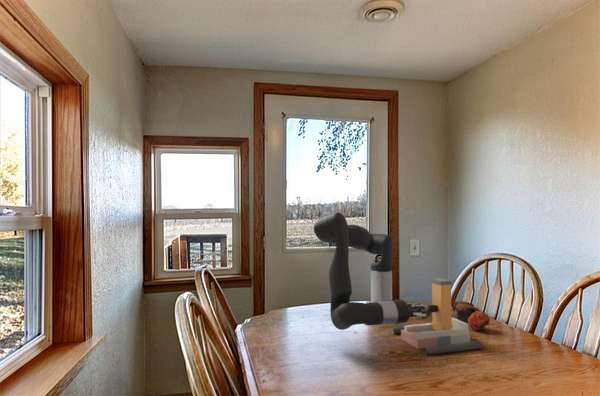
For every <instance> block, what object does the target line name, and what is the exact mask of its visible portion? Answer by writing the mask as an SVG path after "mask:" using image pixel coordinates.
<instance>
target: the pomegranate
mask: <svg viewBox="0 0 600 396" xmlns="http://www.w3.org/2000/svg"><path fill="white" fill-rule="evenodd" d="M469 312H470V313H471V315H470V317H469V318H468V323H467V324H469V327H470V329H472V330H474V331H475V332H478V331H479V330H482V329H485V330H486V331H487V332H488V333H489V334H490V333H491V332H490V331H489V330H488V329H487V328H486V326H487V325H489V324H490V321H491V318H490V315H489V314H488V313H486V312H484V311H481V310H479V311H476V312H475V313H473V312H471V311H469Z"/></svg>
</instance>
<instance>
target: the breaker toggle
mask: <svg viewBox="0 0 600 396" xmlns="http://www.w3.org/2000/svg"><path fill="white" fill-rule="evenodd" d="M430 283H431V305H437V306H438V312H432V313H431V323H432V329H434V330H436V331H437V330H446V329H451V317H452V285H453V280H451V279H446V278H442V277H439V278H438V277H436V278H431V279H430Z"/></svg>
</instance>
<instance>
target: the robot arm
mask: <svg viewBox="0 0 600 396" xmlns="http://www.w3.org/2000/svg"><path fill="white" fill-rule="evenodd" d="M313 232H314V234H315V236H316V238H317V239H319V240H320V241H321V242H323V243H326V244H336V245H335V249H334V254H333V256H332V260H331V264H330V267H329V270H328V280H329V289H330V294H331V295H330V311H329V312H330V319H331V322H332V323H331V324H332V325H333V327H335V328H336V329H338V330H340V331H341V330H342V331H343V330H344V331H346V330H347V329H349V328H350V327H352V326H356V325H361V324H362V325H364V326H378V325H386V326H387V325H396V324H397V325H398V324H399V325H400V324H405V323H407V322H408V321H409V319H410V318H411V319H415V318H417V317H420V318H421V320H426V319H428V318H429V317H430V316H431V314H432V312H438V306H437V305H432V304H427V305H426V304H424V303H423V304H421V303H420V302H407V301H405V300H403V299H393V261H394V260H393V259H394V256H393V255H394V239H393V236H392V235H391V234H387V233H386V234H385V233H384V234H383V233H370V231H369V230H368V229H367V228H365V227H363V226H360V225H357V224H348V221H347V219H346V217H345V216H344V214H343V213H341V212H339V211H336V212H333V213H330V214H328V215H325V216H323V217H321V218H318V219H317V220H316V221H315V223H314V225H313ZM349 248H351V249H356V250H360V251H362V250H364V251H366V252H367V253H369V254H372V255H378V256H381V259H380V260H378V261H375V262H372V263H371V264H370V302H366V303H364V302H357V301H350V299H351V296H352V293H353V287H352V280H351V274H350V267H349V266H350V265H349V264H350V263H349V259H350V258H349V255H350V254H349V252H350V251H349Z"/></svg>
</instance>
